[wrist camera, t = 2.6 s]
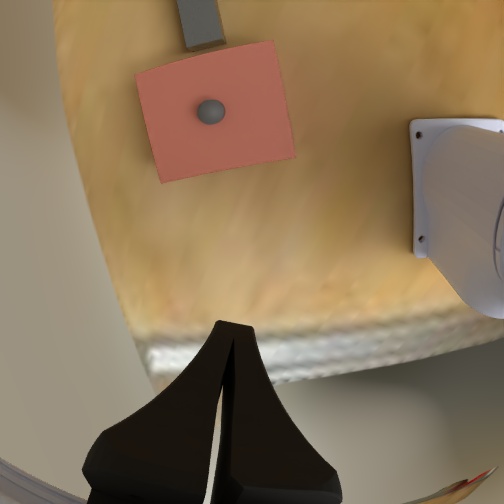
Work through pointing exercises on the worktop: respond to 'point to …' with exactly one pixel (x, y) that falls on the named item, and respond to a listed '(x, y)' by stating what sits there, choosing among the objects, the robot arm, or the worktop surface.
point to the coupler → (201, 24)
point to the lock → (216, 111)
